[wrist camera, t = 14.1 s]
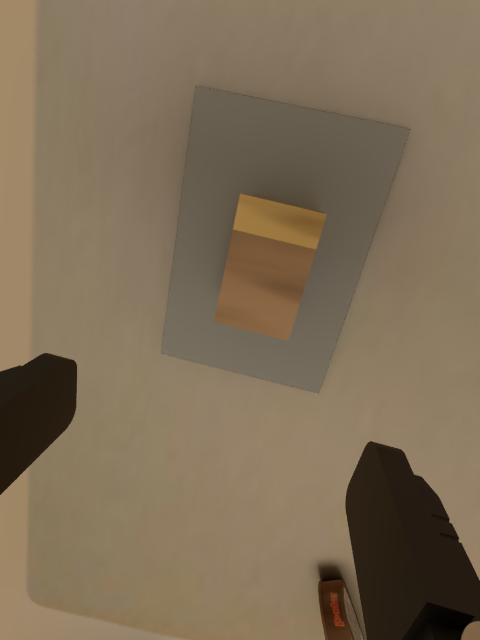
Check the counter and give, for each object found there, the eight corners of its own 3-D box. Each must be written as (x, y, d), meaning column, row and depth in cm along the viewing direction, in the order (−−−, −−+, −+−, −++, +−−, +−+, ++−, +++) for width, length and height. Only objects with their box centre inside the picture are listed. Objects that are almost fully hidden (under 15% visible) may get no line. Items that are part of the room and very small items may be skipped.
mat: (197, 88, 22) (195, 85, 21) (407, 130, 21) (410, 129, 21) (163, 350, 29) (161, 353, 29) (318, 389, 28) (319, 393, 28)
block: (227, 299, 26) (249, 194, 23) (288, 315, 26) (319, 211, 23) (214, 321, 22) (240, 193, 19) (288, 341, 21) (326, 214, 18)
